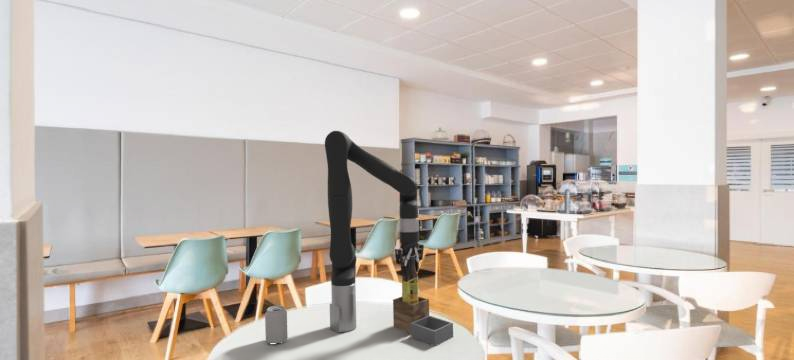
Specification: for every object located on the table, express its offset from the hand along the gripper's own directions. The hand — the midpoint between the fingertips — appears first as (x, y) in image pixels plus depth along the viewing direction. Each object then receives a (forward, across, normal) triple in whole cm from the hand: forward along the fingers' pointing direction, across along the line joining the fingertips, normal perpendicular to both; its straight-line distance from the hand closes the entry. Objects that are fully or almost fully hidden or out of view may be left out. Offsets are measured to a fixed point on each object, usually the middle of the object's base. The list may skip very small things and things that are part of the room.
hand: (410, 273), depth 151 cm
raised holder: (+21, 0, 0) cm, 21 cm away
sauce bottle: (+13, 0, 0) cm, 13 cm away
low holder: (+20, +2, +12) cm, 24 cm away
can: (+21, +42, -26) cm, 54 cm away
